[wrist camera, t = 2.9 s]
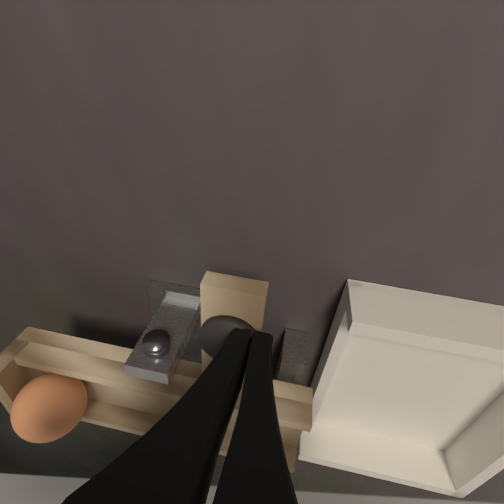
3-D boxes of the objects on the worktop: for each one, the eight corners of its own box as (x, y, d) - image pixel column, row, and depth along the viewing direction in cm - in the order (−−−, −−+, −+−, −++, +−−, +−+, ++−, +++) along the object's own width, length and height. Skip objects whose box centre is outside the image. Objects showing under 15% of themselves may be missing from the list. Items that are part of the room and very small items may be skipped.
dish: (300, 417, 22) (297, 459, 20) (347, 278, 15) (352, 321, 12) (447, 450, 21) (462, 498, 19) (581, 319, 14) (633, 375, 11)
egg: (37, 396, 17) (12, 460, 15) (17, 362, 15) (-16, 428, 13) (99, 389, 18) (85, 449, 15) (86, 355, 16) (67, 417, 13)
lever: (55, 380, 19) (19, 426, 17) (-22, 229, 13) (-98, 269, 10) (295, 436, 17) (291, 495, 15) (345, 296, 11) (352, 361, 9)
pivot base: (164, 368, 22) (129, 441, 18) (151, 279, 17) (100, 352, 13) (288, 395, 21) (281, 479, 17) (312, 309, 16) (310, 398, 12)
